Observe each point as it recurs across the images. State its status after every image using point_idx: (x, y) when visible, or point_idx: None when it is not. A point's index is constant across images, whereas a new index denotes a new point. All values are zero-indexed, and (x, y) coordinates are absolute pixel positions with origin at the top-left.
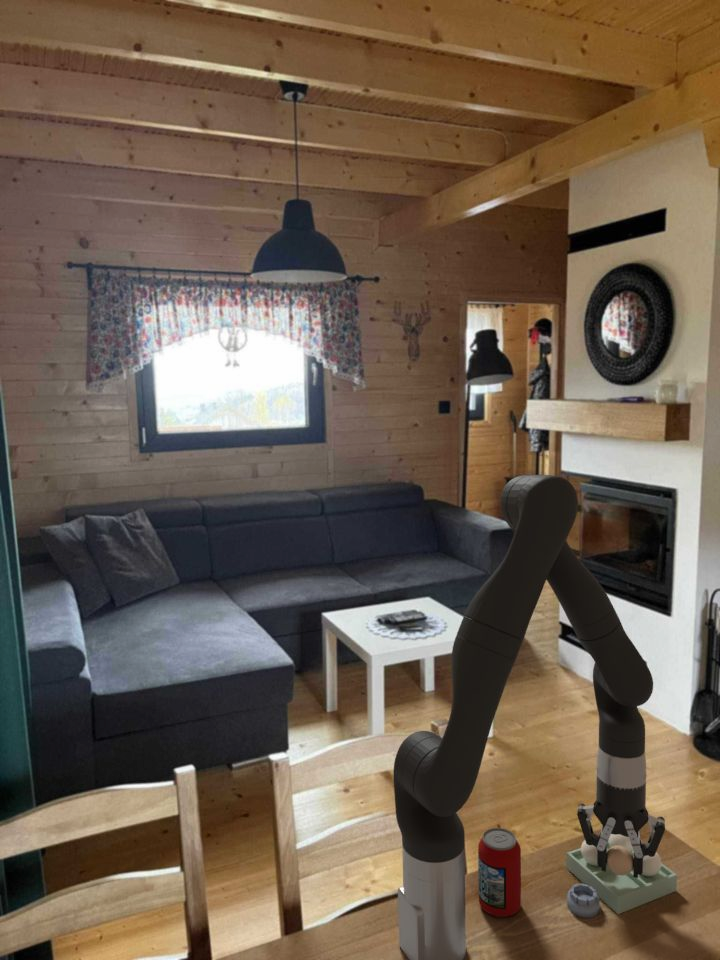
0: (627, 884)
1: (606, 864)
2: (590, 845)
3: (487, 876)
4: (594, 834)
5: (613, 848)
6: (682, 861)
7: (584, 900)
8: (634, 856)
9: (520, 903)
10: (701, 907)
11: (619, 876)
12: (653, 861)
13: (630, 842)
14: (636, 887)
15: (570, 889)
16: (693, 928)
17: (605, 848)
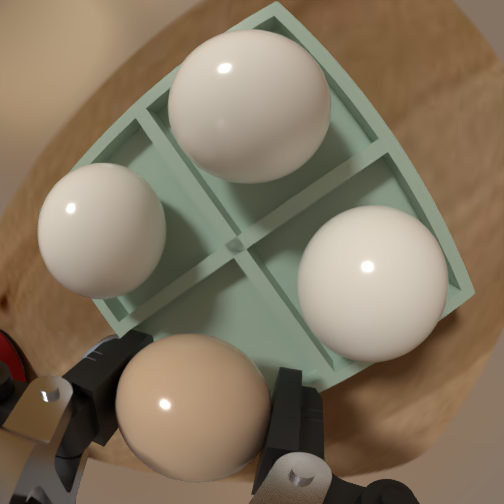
0: (258, 344)
1: (151, 337)
2: (55, 275)
3: None
4: (3, 413)
5: (130, 445)
6: (489, 101)
7: (118, 427)
8: (257, 489)
9: (21, 378)
10: (480, 336)
11: (230, 301)
12: (397, 357)
13: (298, 151)
14: (291, 358)
15: (83, 357)
16: (420, 417)
17: (93, 424)
